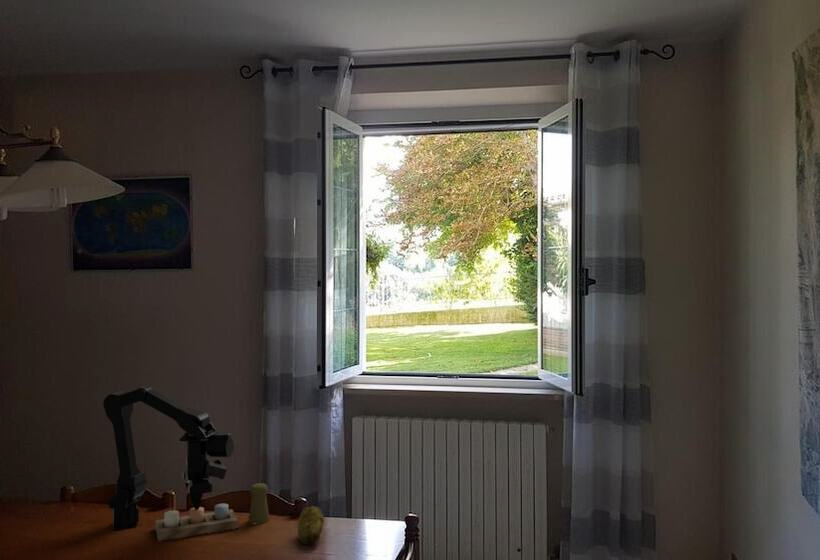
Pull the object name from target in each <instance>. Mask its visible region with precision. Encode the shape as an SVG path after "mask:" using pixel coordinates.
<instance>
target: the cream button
mask: <svg viewBox="0 0 820 560" xmlns="http://www.w3.org/2000/svg"><path fill="white" fill-rule="evenodd" d="M179 517H180V511H179V510H168V511H165V512H164V515H163V519H164V528H169V527H175V526H179Z"/></svg>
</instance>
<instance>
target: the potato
mask: <svg viewBox="0 0 820 560" xmlns="http://www.w3.org/2000/svg"><path fill="white" fill-rule="evenodd" d="M324 521H325V519H324V515H323V510H322V509H321V508H320V507H318V506H315V505H309V506H306V507H305V508H303V509H302V510H301V513H300V515H299V517H298V523H297V536H298V538H299V541H300V542H301V543H303V544H304V545H308V546H312V545H315V544H316V543H317V542H318V541H319V540H320V536H321V534H322V533H323V532H322V531H323V526H324Z"/></svg>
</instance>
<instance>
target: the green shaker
mask: <svg viewBox="0 0 820 560" xmlns="http://www.w3.org/2000/svg"><path fill="white" fill-rule="evenodd" d="M249 491H250V495H251V502H250V508H249V509H250V510H249V518H248V522H249V521H250V522H251V523H250V522H249V523H250V524H252V523H256V524H255V525H261V524H260V523H263V524H266V523H268V522H269V521H270V516H269V515H270V514H269V508H268V501H267V494H268V491H269V487H268V485H267V484H265V483H261V482H258V483H254V484H252V485H251V487H250V490H249Z"/></svg>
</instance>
